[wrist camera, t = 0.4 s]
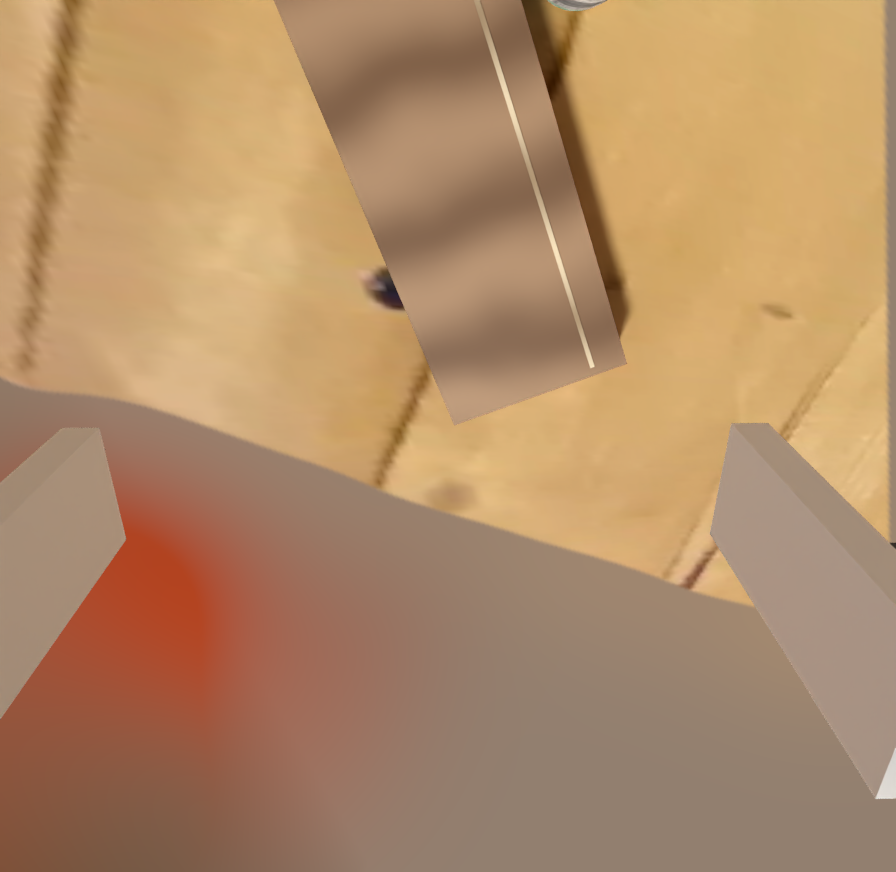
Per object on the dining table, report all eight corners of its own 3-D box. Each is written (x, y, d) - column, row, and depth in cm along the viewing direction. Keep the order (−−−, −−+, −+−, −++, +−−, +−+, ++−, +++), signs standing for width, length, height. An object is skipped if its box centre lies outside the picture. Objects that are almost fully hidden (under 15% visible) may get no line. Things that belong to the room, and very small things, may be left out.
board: (283, 3, 33) (271, -4, 30) (486, -92, 31) (490, -107, 29) (453, 407, 42) (454, 425, 39) (616, 348, 40) (627, 364, 38)
